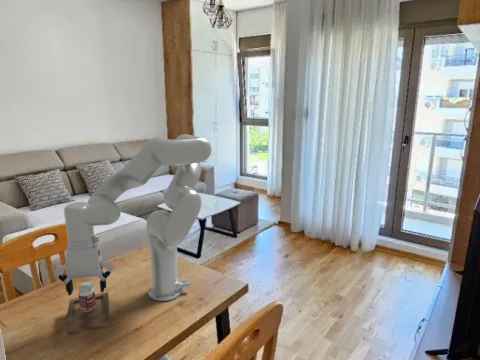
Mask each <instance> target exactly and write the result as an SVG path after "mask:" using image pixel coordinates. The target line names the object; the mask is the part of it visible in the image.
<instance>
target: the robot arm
mask: <svg viewBox="0 0 480 360" xmlns="http://www.w3.org/2000/svg"><path fill="white" fill-rule="evenodd" d="M211 145H212V144H211V143H210V142H209V140H208V139H206V138H204V137H201V136H196V135H192V134H187V133H186V134H180V135H178V136H177V137H176V139H170V138H166V137H162V136H160V137H159V136H155V137H152V138H150V139H149V140H148V141H147V142H146V143H145V144H144V145H143V146H142V147H141V148H140V150H139V151H138V152H136V154H135V155H134V156H133V158H131V160H130V161H129V162H128V163H126V165H125V166H124V167H123V168H122V169H120V170H118V171H117V172H116V173H114V174H113V175H111V176H109V177H108V178H106V179H105V180H104V181H103V182H102V183H101V184H100V185H99V186H98V188H97V189H95V191H94V192H93V193H92V194H91V195H90V197H89V198H88V200H87V202H86V201H79V202H78V201H76V202H71V203H68V204H66V206H65V207H64V211H63V213H64V220H65V222H64V223H65V230H66V238H67V245H66V251H65V264H63V265H60V266H59V267H57V268H56V269H54V274H55V275H56V277H57V278H58V279H59V280H60V281H61V282H63V284H64V285H65V291H66V292H67V296H71V295H72V294H73V293H74V283H73V282H74V281H73V279H82V278H93V277H96V278H98V279H100V280H99V286H100V287H99V289H100V293H104V291H105V289H107V278H108V277H109V276H110V275H111V274H112V271H113V269H114V264H112V263H109V262H107V261H103V257H102V253H101V249H100V245H99V243H100V241H101V239H100V237H97V236H96V234H95V229H94V226H108V225H112V224H115V223H116V222H117V221H118V220H119V219H120V217H121V208H120V206H118V204H117V203H116V201H117V199H118V198H120V196H121V195H123V194H124V193H126V192H127V191H130V190H132V189H136V188H140V187H143V186H145V185H146V184H147V183H148V181H149V180H151V178H152V177H153V176H154V174H155V173H157V171H158V170H159V169H160V168H161V167H162V166H165V167H166V166H167V167H177V169H176V171H175V174H174V175H173V177H172V179H171V181H170V183H169V185H168V187H167V188H166V191H165V192H164V195H163V203H164V205H165V206H166V207H167V208H169V209H170V210H171V212H169V211H168V210H164V209H156V210H154V211H152V212H151V213H150V214H149V216H148V217H147V219H146V224H145V225H146V233H147V238H148V242H149V253H150V254H149V256H150V271H151V272H150V274H151V277H150V278H151V285H150V286H149V287H148V290H147V295H148V297H149V298H150V299H152V300H154V301H159V302H167V301H171V300H174V299H177V298H178V297H179V296H180V295H182V293H183V288H191V281H188V279H187V278H185V279H181V278H180V276H179V274H178V273H179V272H178V271H179V269H178V247H177V246H179V245H180V244H182V243H183V242H185V240H186V238H187V236H188V235H189V233H190V232H191V229H192V227H193V226H194V223H195V221H196V220H197V218H198V216H199V214H200V212H201V208H202V197H201V194H199V192H198V191H196V190H195V188H196V186H197V184H198V182H199V179H200V177H201V173H202V165H201V163H203V162H205V161H207V160H208V159H209V157H210V156H211V154H212V146H211ZM98 242H99V243H98ZM103 268H105V269H107V270H106V271H104V270H103ZM64 271H65V274H64V273H63V272H64Z"/></svg>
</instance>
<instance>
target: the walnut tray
mask: <svg viewBox="0 0 480 360" xmlns="http://www.w3.org/2000/svg"><path fill="white" fill-rule="evenodd" d="M95 303H96V307H95V309H94V310H92V311H90V312H82V311H81V310H80V305H79V296H78V297H74V298H69V302H68V308H67V309H68V310H67V313H66V314H67V315H66V320H65V321H66V327H67V328H66V330H67V336H68V335H74V334H78V333H83V332H88V331H92V330H98V329H102V328H103V329H104V328H108V327H110V326H111V324H110V323H111V322H110V321H111V318H110V316H111V314H110V300H109V292H108V291H107V292H100V293H97V294H95Z"/></svg>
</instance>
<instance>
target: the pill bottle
mask: <svg viewBox="0 0 480 360" xmlns="http://www.w3.org/2000/svg"><path fill="white" fill-rule="evenodd" d="M93 286H94V285H93V282H90V281H86V282H82V283H80V284H79V285H78V297H79V305H80V310H81V311H82V312H90V311H92V310H94V309H95V307H96V303H95V289H94V287H93Z"/></svg>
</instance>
